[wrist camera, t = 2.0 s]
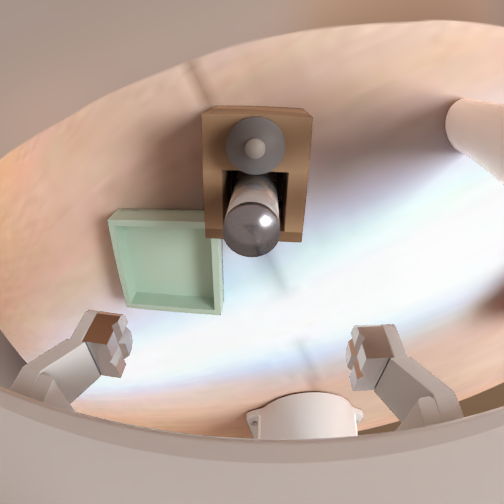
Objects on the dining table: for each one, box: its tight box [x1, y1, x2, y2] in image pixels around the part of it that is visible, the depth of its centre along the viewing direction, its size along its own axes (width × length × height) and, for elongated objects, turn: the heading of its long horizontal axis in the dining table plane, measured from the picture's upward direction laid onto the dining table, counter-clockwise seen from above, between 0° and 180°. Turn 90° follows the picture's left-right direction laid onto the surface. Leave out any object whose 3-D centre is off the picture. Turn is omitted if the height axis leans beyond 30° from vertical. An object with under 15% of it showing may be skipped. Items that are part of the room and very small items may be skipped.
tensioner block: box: [202, 106, 313, 242], centre depth 23 cm, size 9×7×8 cm
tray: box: [108, 209, 224, 315], centre depth 31 cm, size 10×10×2 cm
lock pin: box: [223, 170, 280, 257], centre depth 23 cm, size 3×3×11 cm
